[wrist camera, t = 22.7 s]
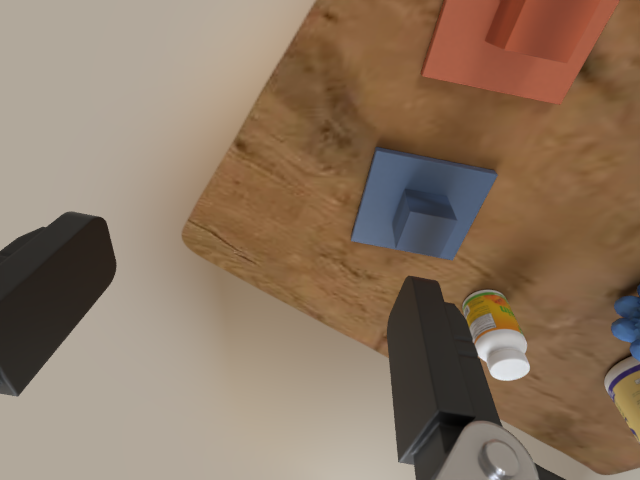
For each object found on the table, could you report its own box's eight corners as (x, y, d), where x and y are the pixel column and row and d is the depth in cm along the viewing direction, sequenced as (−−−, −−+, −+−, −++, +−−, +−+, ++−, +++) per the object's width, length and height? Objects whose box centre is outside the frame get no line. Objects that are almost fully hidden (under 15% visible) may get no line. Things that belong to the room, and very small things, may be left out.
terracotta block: (484, 41, 27) (503, 50, 23) (512, -31, 24) (539, -34, 21) (539, 53, 27) (567, 63, 24) (574, -18, 24) (611, -18, 21)
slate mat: (350, 236, 40) (350, 241, 39) (375, 146, 34) (376, 150, 33) (450, 255, 41) (452, 260, 40) (494, 170, 34) (498, 174, 33)
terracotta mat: (420, 73, 30) (422, 76, 29) (476, -103, 23) (481, -107, 22) (554, 101, 30) (560, 104, 29) (647, -65, 23) (657, -67, 23)
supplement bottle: (514, 303, 44) (548, 372, 37) (477, 322, 47) (501, 390, 39) (490, 281, 43) (520, 348, 35) (453, 302, 45) (473, 368, 37)
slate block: (391, 224, 38) (395, 249, 34) (404, 188, 35) (410, 211, 31) (431, 231, 38) (439, 257, 34) (447, 196, 35) (458, 220, 32)
